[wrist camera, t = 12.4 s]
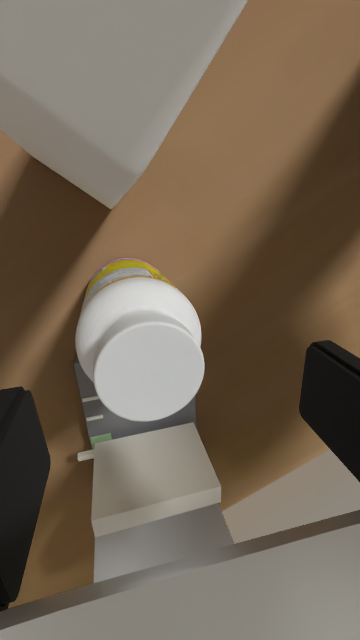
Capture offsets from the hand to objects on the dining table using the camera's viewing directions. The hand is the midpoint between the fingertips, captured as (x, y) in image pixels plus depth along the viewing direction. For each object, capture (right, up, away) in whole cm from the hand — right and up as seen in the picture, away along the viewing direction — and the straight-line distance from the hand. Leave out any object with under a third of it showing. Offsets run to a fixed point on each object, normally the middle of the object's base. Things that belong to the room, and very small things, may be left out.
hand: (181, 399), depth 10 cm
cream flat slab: (-4, -8, +16) cm, 19 cm away
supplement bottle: (-4, +5, +14) cm, 15 cm away
